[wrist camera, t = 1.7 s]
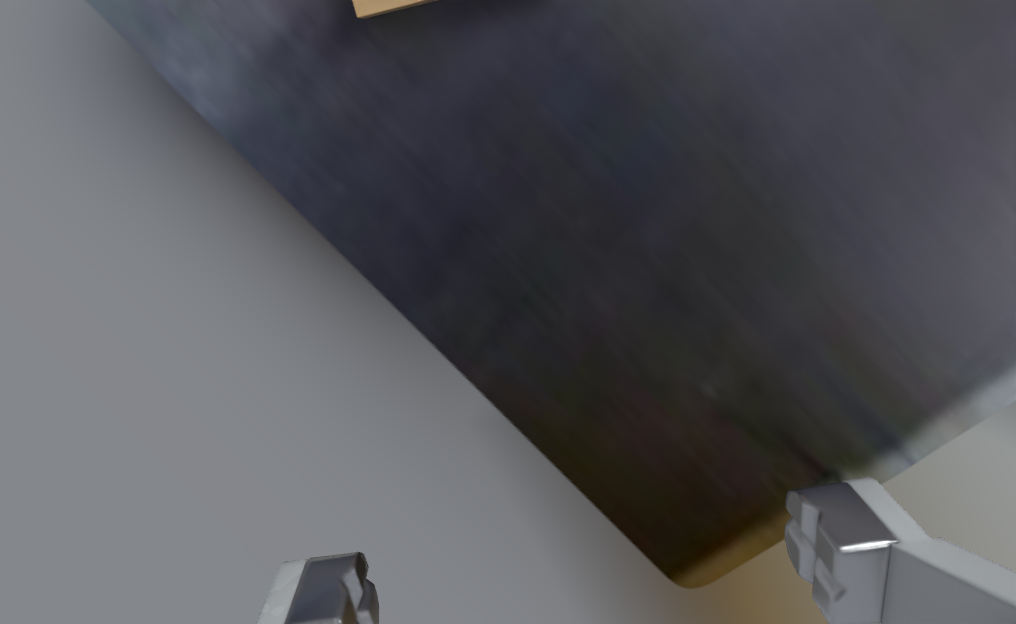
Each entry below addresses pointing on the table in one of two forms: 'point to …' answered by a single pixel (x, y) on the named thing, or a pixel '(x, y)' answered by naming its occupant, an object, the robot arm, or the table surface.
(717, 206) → the table surface
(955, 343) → the table surface
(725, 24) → the table surface
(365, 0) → the holder
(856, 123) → the table surface
